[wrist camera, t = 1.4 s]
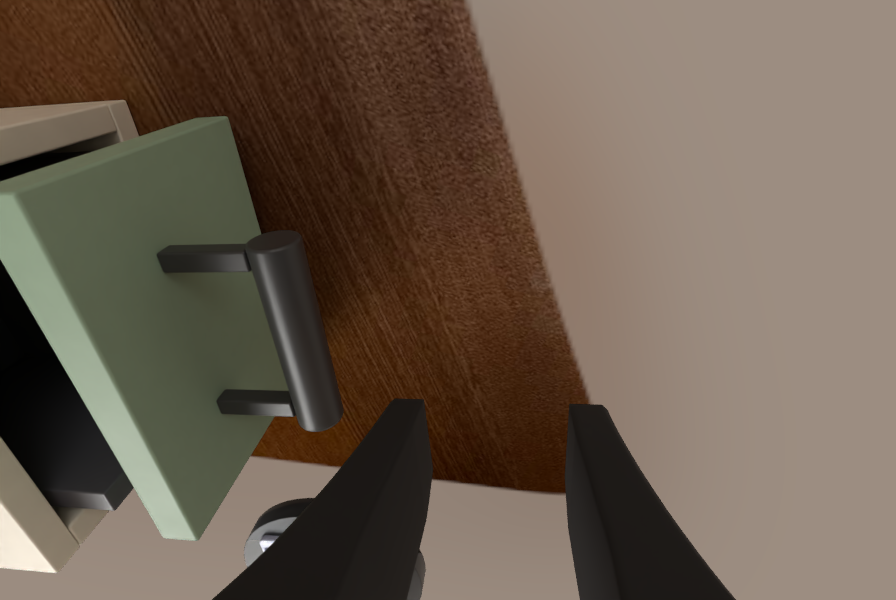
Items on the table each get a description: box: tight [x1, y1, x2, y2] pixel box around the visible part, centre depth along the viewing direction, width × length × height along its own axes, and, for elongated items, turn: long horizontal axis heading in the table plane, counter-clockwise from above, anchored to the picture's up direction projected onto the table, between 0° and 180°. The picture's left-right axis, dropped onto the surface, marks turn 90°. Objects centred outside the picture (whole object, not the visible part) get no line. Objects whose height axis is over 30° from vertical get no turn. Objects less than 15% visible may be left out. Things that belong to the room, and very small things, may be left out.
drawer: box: [0, 116, 343, 541], centre depth 16 cm, size 16×11×8 cm, turn 94°
